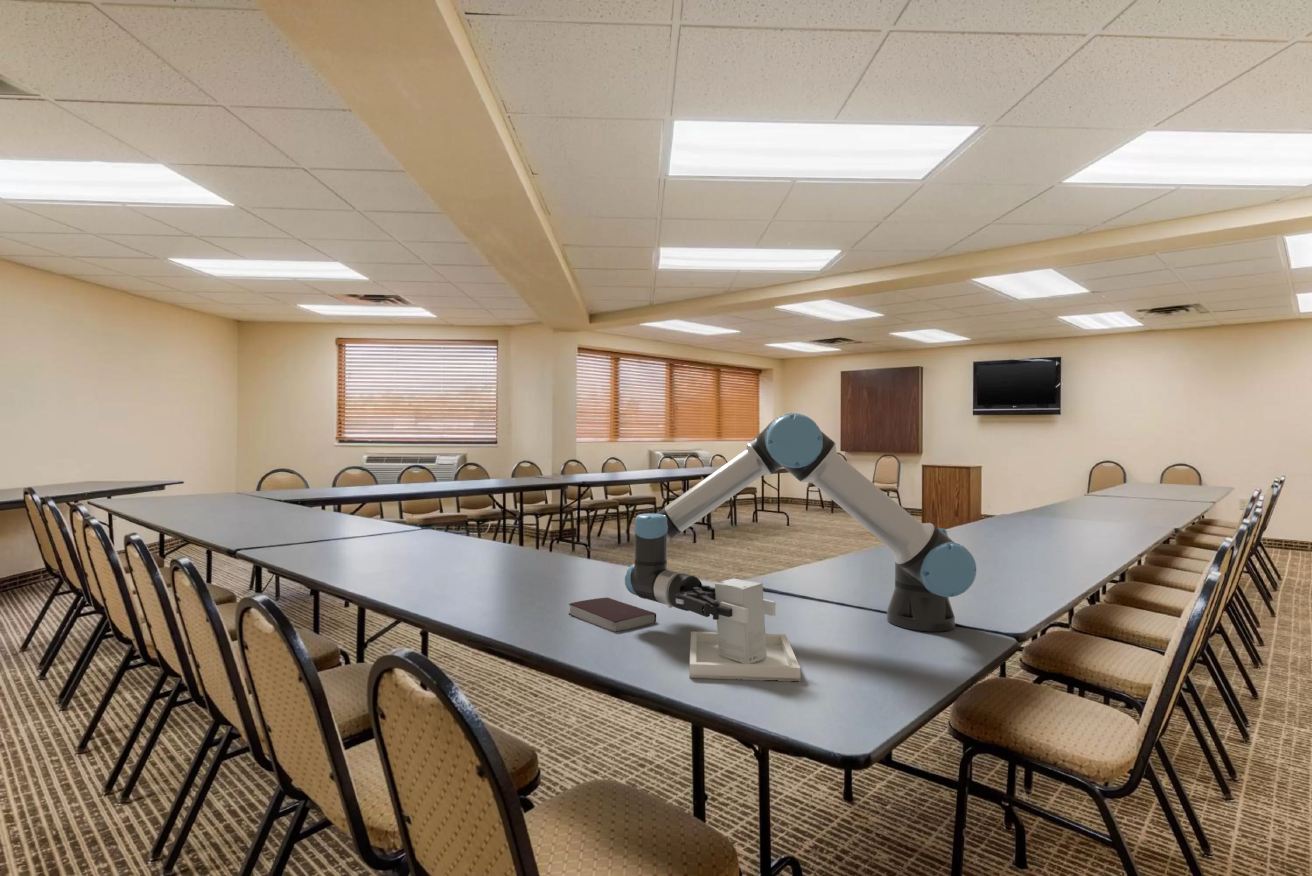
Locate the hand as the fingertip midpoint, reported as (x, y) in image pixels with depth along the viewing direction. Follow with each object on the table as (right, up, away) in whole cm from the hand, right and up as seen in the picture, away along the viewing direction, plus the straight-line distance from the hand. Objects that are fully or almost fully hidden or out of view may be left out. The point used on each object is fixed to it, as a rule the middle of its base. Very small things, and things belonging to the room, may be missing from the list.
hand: (760, 612), depth 122 cm
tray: (-3, -11, +4) cm, 12 cm away
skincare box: (-3, -10, +4) cm, 11 cm away
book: (-31, -11, +33) cm, 47 cm away
